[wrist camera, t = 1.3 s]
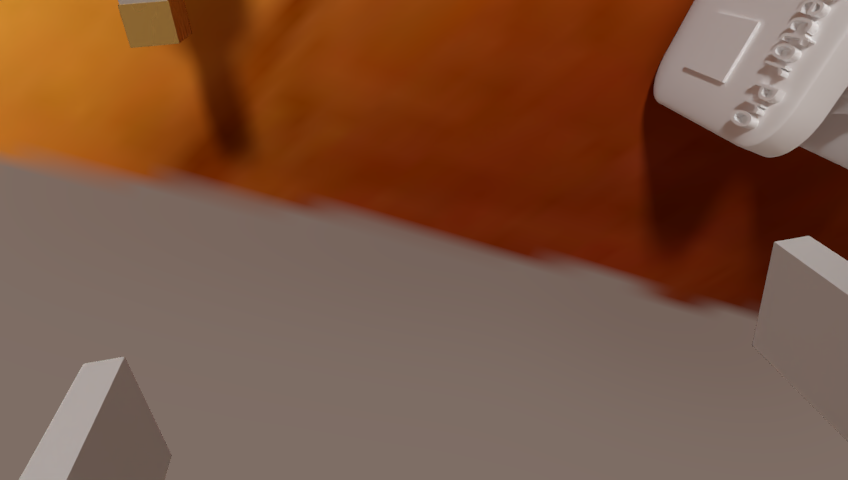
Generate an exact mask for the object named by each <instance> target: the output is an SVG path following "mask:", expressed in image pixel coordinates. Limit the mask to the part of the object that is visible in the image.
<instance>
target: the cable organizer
mask: <svg viewBox="0 0 848 480" xmlns="http://www.w3.org/2000/svg"><path fill="white" fill-rule="evenodd" d="M653 90H654V98H655V99H656V101H657V102H658V103H660V104H662V105H664V106H665V107H667V108H669V109H671V110H673V111H674V112H676V113H678V114H680V115H682V116H684V117H685V118H687V119H689V120H691V121H693V122H695V123H696V124H698V125H700V126H702V127H704V128H706V129H707V130H709V131H711V132H713V133H715V134H717V135H718V136H720V137H722V138H724V139H726V140H727V141H729V142H731V143H733V144H735V145H737V146H739V147H741V148H744V149H746V150H749V151H751V152H754V153H756V154H759V155H761V156H764V157H770V158H771V157H778V156H781V155H784V154H786V153H788V152H790V151H792V150H793V149H795V148H796V147H798V146H800V147H802V148H804V149H806V150H808V151H811V152H813V153H815V154H817V155H819V156H821V157H823V158H825V159H827V160H829V161H832V162H834V163H836V164H838V165H840V166H842V167H844V168H846V169H848V0H694V2H693V4H692V6H691V7H690V9H689V11H688V13H687V15H686V17H685V18H684V20H683V22H682V24H681V26H680V27H679V29H678V31H677V33H676V35H675V37H674V38H673V40H672V42H671V44H670V46H669V47H668V49H667V51H666V53H665V55H664V57H663V59H662V61H661V63H660V65H659V68H658V70H657V73H656V77H655V81H654V88H653Z"/></svg>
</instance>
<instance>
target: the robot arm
mask: <svg viewBox="0 0 848 480" xmlns="http://www.w3.org/2000/svg"><path fill="white" fill-rule="evenodd" d="M752 346H753V347H754V348H755V349H756V350H757V351H758V352H759V353H760V354H761V355H762V356H763V357H764V358H765V359H766V360H767V361H768V362H769V363H770V364H771V365H772V366H773V367H774V368H775V369H776V370H777V371H778V372H779V373H780V374H781V375H782V376H783V377H784V378H785V379H786V380H787V381H788V382H789V383H790V384H791V385H792V386H793V387H794V388H795V389H796V390H797V391H798V392H799V393H800V394H801V395H802V396H803V397H804V398H805V399H806V400H807V401H808V402H809V403H810V404H811V405H812V406H813V407H814V408H815V409H816V410H817V411H818V412H819V413H820V414H821V415H822V416H823V417H824V418H825V419H826V420H827V421H828V422H829V423H830V424H831V425H832V426H833V427H834V428H835V429H836V430H837V431H838V432H839V433H840V434H841V435H842V436H843V437H844V438H845V439H846V440H847V441H848V261H847V260H846V259H844V258H842V257H841V256H839V255H838V254H836V253H835V252H833V251H832V250H830V249H829V248H827V247H826V246H824V245H823V244H821V243H820V242H818V241H817V240H815V239H813V238H812V237H810V236H804V237H798V238H793V239H787V240H781V241H776V242H774V245H773V249H772V254H771V259H770V264H769V268H768V273H767V278H766V282H765V287H764V292H763V297H762V301H761V306H760V311H759V315H758V320H757V325H756V330H755V334H754V339H753V344H752ZM171 456H172V455H171V453H170V451H169V449H168V447H167V444H166V442H165V440H164V438H163V436H162V434H161V432H160V430H159V428H158V426H157V424H156V422H155V419H154V417H153V415H152V413H151V411H150V409H149V407H148V405H147V403H146V400H145V398H144V396H143V394H142V392H141V390H140V388H139V386H138V384H137V382H136V379H135V377H134V375H133V373H132V371H131V369H130V367H129V365H128V363H127V360H126V358H125V357H120V358H114V359H108V360H103V361H97V362H91V363H86V364H83V366H82V368H81V369H80V371H79V373H78V375H77V376H76V378H75V380H74V382H73V384H72V386H71V387H70V389H69V391H68V393H67V394H66V396H65V398H64V400H63V402H62V403H61V405H60V407H59V409H58V411H57V412H56V414H55V416H54V418H53V420H52V421H51V423H50V425H49V427H48V429H47V430H46V432H45V434H44V436H43V437H42V439H41V441H40V443H39V445H38V447H37V448H36V450H35V452H34V454H33V455H32V457H31V459H30V461H29V463H28V464H27V466H26V468H25V470H24V472H23V473H22V475H21V477H20V479H19V480H165V476H166V473H167V469H168V466H169V463H170V459H171Z"/></svg>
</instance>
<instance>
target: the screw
mask: <svg viewBox="0 0 848 480" xmlns="http://www.w3.org/2000/svg"><path fill="white" fill-rule="evenodd" d="M118 1H119V5H118V7H119V11H120V14H121V17H122V21H123V24H124V27H125V31H126V34H127V37H128V41H129V44H130V47H131V48H133V47H144V46H156V45H167V44H178V43H180V42H182V41H183V40H184V39H185V38H187V37H188V36H189V35H190V34H192V31H191V27H190V23H189V19H188V15H187V11H186V7H185V3H184V0H118Z"/></svg>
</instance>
